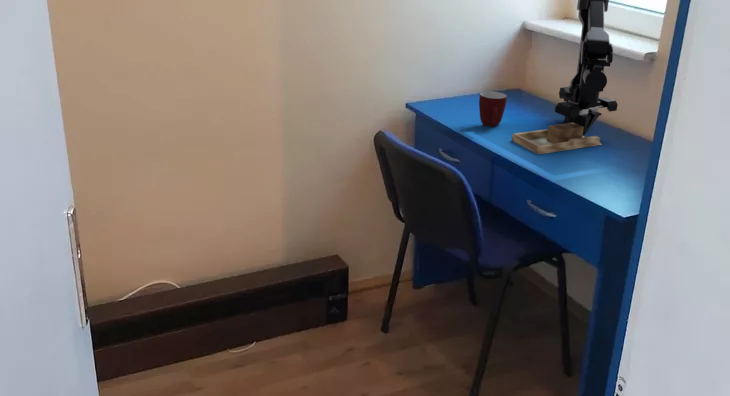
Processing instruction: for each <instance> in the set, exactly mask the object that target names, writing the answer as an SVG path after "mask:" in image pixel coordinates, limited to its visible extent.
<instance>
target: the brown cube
mask: <svg viewBox="0 0 730 396" xmlns="http://www.w3.org/2000/svg"><path fill="white" fill-rule="evenodd" d="M561 124H562V125H564V126H567V127H569V128H571V129H572V130H571V136H570V139H576V138H582V135H583V129H584V127H583V126H580V125H578V124H576V123H573V122H572V123H566V122H564V123H561Z"/></svg>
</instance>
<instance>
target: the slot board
mask: <svg viewBox="0 0 730 396" xmlns="http://www.w3.org/2000/svg"><path fill="white" fill-rule="evenodd" d="M547 134H548V129H545V128H544V129H539V130H538V129H537V130H532V131H531V130H530V131H524V132H516V133H512V136H511V137H512V138H511V141H512V142H513V143H516V144H518V145H519V146H522V147H523V148H525V149H528V150H529V151H532V152H533V153H535V154H537V155H545V154H550V153H556V152H561V151H563V152H564V151H569V150H575V149H580V148H581V149H582V148H588V147H595V146H601V145H603V144H602V143H601V137H599V136H597V135H591V136H586V135H584V136H582V138H576V139H569V140H568V142H562V143H555V144H552V143H550V142H548V141H547Z"/></svg>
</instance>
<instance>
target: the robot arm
mask: <svg viewBox="0 0 730 396" xmlns="http://www.w3.org/2000/svg"><path fill="white" fill-rule="evenodd" d="M609 1H610V0H577V4H576V10H577V11H578V14H577V15H578V16H577V17H578V19H579V21H580V23H581V26H582V27H581V35H580V41H579V42H580V44H579V51H578V58H577V59H578V60H577V66H576V67H577V69H576V74H575V75H574V76H573V77H572V79H571V80H570V81H569V83H570V84H569V85H567V86H564V87H560V88H559V93H558V96H559V97H558V98H560V100H562V99H563V101H562V102H558V103H556V104H555V107H554V108H555V109H554V112H555V113H556V114H558V115H561V116H564V121H563V122H564V123H572V122H573V123H576V124H578V125H580V126H583V127H584V129H583V135H582V136H586V134H587V132H588V131H589V129H590V128H591V126H593V124H594V123H595V122H596V121H597V120H598V118H599V117H601V116H602V113H601V112H600V111H599V109H603V108H606V110H607V111H608V112H610V113H611V112H616V111H617V110H618V102H617V100H616V99H612V98H610V97H606V96H601V97H600V92H604V89H605V88H606V86H607V84H608V78H607V75H606V74H605V67H611V64H612V63H613V57H614V55H613V54H614V46H613V44H612V42H610V34H608V32H606V31H605V13H607V12H608V10H609V4H610V3H609Z"/></svg>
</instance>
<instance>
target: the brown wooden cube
mask: <svg viewBox="0 0 730 396" xmlns="http://www.w3.org/2000/svg"><path fill="white" fill-rule="evenodd" d="M562 124H563V123H560V124H559V123H558V124H553V125H552V124H551V125H548V134H547V141H548V142H550V143H552V144H555V143H562V142H568V140H569V139H570V136H571V130H572V129H571V128H569V127H567V126H564V125H562Z"/></svg>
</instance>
